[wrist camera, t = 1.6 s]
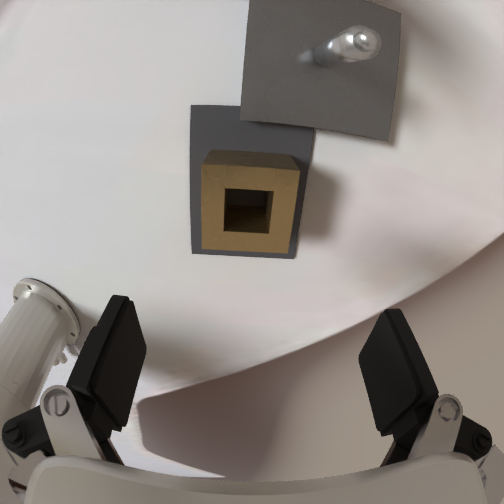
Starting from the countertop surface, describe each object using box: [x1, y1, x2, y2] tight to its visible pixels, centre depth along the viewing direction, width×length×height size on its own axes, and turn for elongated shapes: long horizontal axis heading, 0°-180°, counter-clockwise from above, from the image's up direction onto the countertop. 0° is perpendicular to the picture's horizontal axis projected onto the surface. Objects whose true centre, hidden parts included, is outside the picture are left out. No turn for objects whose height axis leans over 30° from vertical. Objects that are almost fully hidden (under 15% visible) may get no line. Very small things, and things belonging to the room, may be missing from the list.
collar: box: [201, 150, 300, 254], centre depth 22 cm, size 6×6×5 cm
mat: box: [190, 105, 314, 259], centre depth 24 cm, size 14×10×1 cm
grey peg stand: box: [240, 0, 401, 141], centre depth 14 cm, size 12×12×10 cm
